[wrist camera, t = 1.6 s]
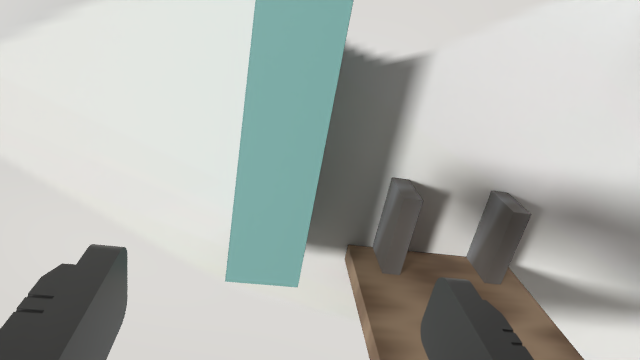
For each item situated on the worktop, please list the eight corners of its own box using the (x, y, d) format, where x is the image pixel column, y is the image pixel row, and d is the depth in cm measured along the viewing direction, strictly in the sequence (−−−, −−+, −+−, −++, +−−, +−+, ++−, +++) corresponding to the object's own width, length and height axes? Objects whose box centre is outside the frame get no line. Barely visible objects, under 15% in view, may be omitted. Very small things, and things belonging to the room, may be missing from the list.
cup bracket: (531, 196, 30) (721, 355, 17) (497, 273, 32) (640, 461, 20) (365, 174, 28) (441, 335, 15) (344, 258, 30) (394, 456, 18)
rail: (338, -23, 23) (358, -25, 17) (293, 230, 29) (297, 287, 24) (263, -38, 22) (260, -45, 17) (234, 224, 29) (225, 281, 23)
